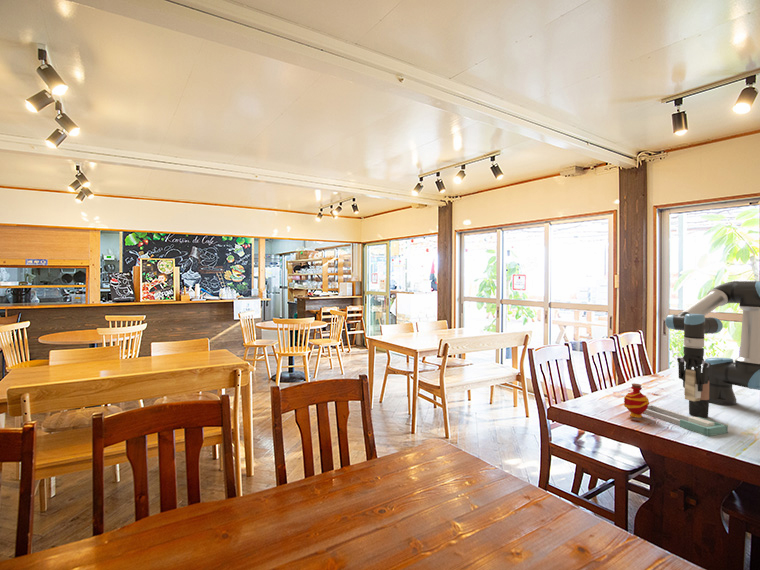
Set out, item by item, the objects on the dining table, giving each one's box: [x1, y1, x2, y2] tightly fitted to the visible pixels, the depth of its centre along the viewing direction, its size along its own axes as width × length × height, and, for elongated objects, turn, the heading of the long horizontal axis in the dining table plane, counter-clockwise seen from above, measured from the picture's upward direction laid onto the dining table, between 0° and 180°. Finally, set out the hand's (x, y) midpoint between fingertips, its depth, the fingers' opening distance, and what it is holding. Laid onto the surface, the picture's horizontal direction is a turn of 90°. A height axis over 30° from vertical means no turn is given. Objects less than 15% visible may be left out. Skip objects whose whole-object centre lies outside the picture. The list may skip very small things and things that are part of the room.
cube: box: [698, 418, 715, 427], centre depth 173 cm, size 4×4×4 cm
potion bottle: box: [623, 383, 650, 419], centre depth 191 cm, size 10×10×15 cm
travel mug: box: [688, 375, 710, 419], centre depth 192 cm, size 8×8×20 cm
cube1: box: [688, 416, 705, 425], centre depth 177 cm, size 4×4×4 cm
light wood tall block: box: [684, 368, 700, 401], centre depth 188 cm, size 4×4×14 cm
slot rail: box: [643, 403, 690, 426], centre depth 190 cm, size 10×22×2 cm, turn 18°
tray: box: [679, 417, 729, 437], centre depth 174 cm, size 12×12×3 cm
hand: (692, 396), depth 188 cm, fingers closed on light wood tall block, 4 cm apart
